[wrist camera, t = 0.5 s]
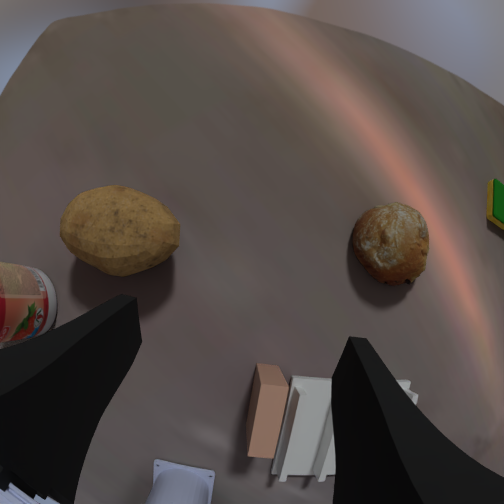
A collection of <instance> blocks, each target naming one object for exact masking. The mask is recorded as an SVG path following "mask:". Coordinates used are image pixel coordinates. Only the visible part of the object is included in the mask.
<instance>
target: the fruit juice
mask: <svg viewBox="0 0 504 504" xmlns="http://www.w3.org/2000/svg"><path fill="white" fill-rule="evenodd" d="M56 312H57V298H56V293H55V289H54V287H53V284H52V282H51V281H50V279H49V278H48V276H47V275H46V274H45V273H43V272H42V271H41V270H39V269H36V268H33V267H28V266H22V265H16V264H10V263H4V262H0V343H1V342H7V341H13V340H19V339H25V338H30V337H36V336H39V335H42V334H44V333H45V332H46V331H48V330H49V329H50V327H51V326H52V324H53V322H54V320H55V317H56Z"/></svg>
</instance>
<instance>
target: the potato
mask: <svg viewBox="0 0 504 504" xmlns="http://www.w3.org/2000/svg"><path fill="white" fill-rule="evenodd" d="M179 236H180V223H179V222H178V221H177V219H176V218H175V217H174V215H173V214H172V213H171V211H170V210H169V208H168V207H167V206H165V205H164V204H162V203H161V202H159V201H158V200H156V199H155V198H153V197H151V196H149V195H146V194H144V193H142V192H139V191H137V190H134V189H131V188H128V187H124V186H119V185H111V186H106V187H100V188H96V189H92V190H89V191H85V192H82V193H81V194H79V195H78V196H77V197H75V198H74V199H73V200H72V201H71V202H70V203H69V204H68V206H67V208H66V210H65V211H64V213H63V215H62V217H61V222H60V237H61V238H62V240H63V242H64V243H65V245H66V247H67V248H68V249H69V251H70V252H71V253H73V254H74V255H75V256H77V257H78V258H79V259H81V260H82V261H84V262H86V263H88V264H90V265H92V266H94V267H96V268H98V269H99V270H101V271H103V272H105V273H106V274H109V275H114V276H122V277H125V276H128V275H131V274H134V273H137V272H140V271H143V270H146V269H149V268H152V267H154V266H156V265H158V264H159V263H161V262H163V261H165V260H167V259H168V258H169V256H170V255H171V254H172V253H173V252H174V251H175V250H176V248H177V247H178V246H179Z"/></svg>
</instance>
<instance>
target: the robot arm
mask: <svg viewBox="0 0 504 504" xmlns="http://www.w3.org/2000/svg"><path fill="white" fill-rule="evenodd" d="M141 343H142V338H141V331H140V323H139V315H138V307H137V298H135V297H131V296H127V295H123V294H121V295H119V296H116V297H114V298H112V299H111V300H109V301H107V302H105V303H103V304H101V305H99V306H98V307H96V308H94V309H92V310H90V311H89V312H87V313H85V314H83V315H81V316H79V317H78V318H76V319H74V320H72V321H70V322H68V323H66V324H64V325H62V326H60V327H58V328H56V329H54V330H52V331H50V332H48V333H45V334H43V335H41V336H38V337H36V338H33V339H31V340H28V341H26V342H23V343H20V344H17V345H14V346H10V347H7V348H3V349H0V504H40V503H38V502H36V501H35V500H34V497H35V495H36V494H37V495H38V496H40V497H41V498H43V499H44V500H45V499H46V498H47V496H49V497H51V498H52V499H54V500H55V501H57V502H59V503H60V504H74V500H75V495H76V490H77V485H78V481H79V477H80V473H81V470H82V467H83V463H84V460H85V457H86V454H87V451H88V448H89V446H90V443H91V440H92V437H93V435H94V433H95V430H96V428H97V425H98V423H99V421H100V418H101V417H102V415H103V413H104V411H105V409H106V407H107V406H108V404H109V402H110V401H111V399H112V397H113V396H114V394H115V392H116V391H117V389H118V387H119V386H120V384H121V382H122V381H123V379H124V377H125V376H126V374H127V372H128V371H129V369H130V367H131V366H132V364H133V362H134V359H135V357H136V355H137V353H138V350H139V348H140V345H141ZM331 410H332V422H333V433H334V446H335V465H336V469H335V484H334V495H333V504H504V477H502V476H500V475H498V474H496V473H495V472H493V471H491V470H489V469H488V468H486V467H484V466H483V465H481V464H480V463H478V462H477V461H475V460H474V459H473V458H471V457H470V456H468V455H467V454H466V453H464V452H463V451H462V450H461V449H459V448H458V447H457V446H456V445H455V444H453V443H452V442H451V441H450V440H449V439H448V438H447V437H445V436H444V435H443V434H442V433H441V432H440V431H439V430H438V429H437V428H436V427H435V426H434V425H433V424H432V423H431V422H430V421H429V420H428V419H427V418H426V416H425V415H424V414H423V413H422V412H421V411H420V410H419V409H418V407H417V406H416V405H415V404H414V403H413V401H412V400H411V399H410V398H409V396H408V395H407V394H406V393H405V391H404V390H403V389H402V387H401V386H400V385H399V383H398V382H397V381H396V379H395V378H394V377H393V375H392V374H391V372H390V371H389V370H388V368H387V367H386V365H385V364H384V363H383V361H382V360H381V358H380V357H379V355H378V354H377V353H376V351H375V350H374V348H373V347H372V345H371V344H370V343H369V341H368V340H367V339H366V338H359V337H350V336H349V338H348V341H347V343H346V346H345V348H344V351H343V353H342V355H341V358H340V360H339V362H338V365H337V367H336V369H335V371H334V374H333V376H332V383H331ZM156 464H157V465H159V466H157V465H156ZM210 476H212V477H210ZM214 478H215V472H214V471H212V470H207V469H201V468H195V467H190V466H185V465H181V464H176V463H172V462H167V461H163V460H159V459H156V460H155V461H154V477H153V487H152V489H151V491H150V494H149V496H148V498H147V500H146V502H145V504H211V497H212V491H213V484H214Z"/></svg>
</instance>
